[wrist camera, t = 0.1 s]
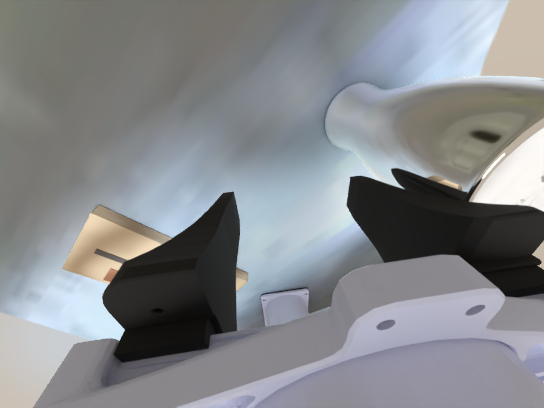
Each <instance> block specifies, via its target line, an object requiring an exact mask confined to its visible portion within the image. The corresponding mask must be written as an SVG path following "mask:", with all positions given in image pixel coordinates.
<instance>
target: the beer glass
mask: <svg viewBox="0 0 544 408" xmlns="http://www.w3.org/2000/svg"><path fill="white" fill-rule="evenodd" d="M325 131H326V134H327V136H328V138H329V140H330V141H331V143H332V144H333V145H335V146H336V147H338V148H341V149H344V150H348V151H351V152H353V153H354V154H355V155H356V156H357V157H358V158H359V159H360V161H361V162H362V163H363V165H364V166H365V167H366V169H367V170H368V171H369V172H370V174H371V175H372V176H373V177H374V178H375V179H376V180H378V181H381V182H384V183H387V184H390V185H393V186H396V187H399V188H403V189H406V190H410V191H413V192H417V193H421V194H426V195H430V196H435V197H440V198H446V199H453V200H459V201H468V202H477V203H488V204H505V205H526V206H531V207H535V208H537V209H539V210H542V211H544V78H537V77H524V76H523V77H522V76H466V77H452V78H445V79H438V80H432V81H426V82H421V83H417V84H412V85H407V86H403V87H399V88H394V89H389V90H382V89H380V88H378V87H376V86H374V85H372V84H368V83H356V84H353V85H350V86H348V87H346V88H345V89H343V90H342V91H341V92H339V93H338V94H337V95H336V97H335V98H334V99H333V100H332V102H331V104H330V106H329V108H328V110H327V113H326V117H325Z"/></svg>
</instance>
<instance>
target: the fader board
mask: <svg viewBox="0 0 544 408" xmlns="http://www.w3.org/2000/svg"><path fill="white" fill-rule="evenodd" d="M170 239H172V238H170V237H168V236H166V235H164V234H161V233H159V232H157V231H155V230H153V229H150V228H148V227H146V226H144V225H142V224H140V223H137V222H135V221H133V220H131V219H129V218H127V217H124V216H122V215H120V214H118V213H116V212H114V211H111V210H109V209H107V208H105V207H103V206H99V207H97V208H96V209H95V210H94V211H93V212H92V213H91V214H90V216H89V218H88V220H87V222H86V223H85V225H84V227H83V229H82V231H81V233H80V235H79V237H78V239H77V241H76V243H75V245H74V246H73V248H72V250H71V252H70V254H69V256H68V258H67V260H66V262H65V264H64V266H63V268H62V269H64V270H67V271H70V272H73V273H76V274H79V275H83V276H86V277H89V278H92V279H95V280H98V281H101V282H105V283H108V284H110V282H111V281H112V279H113V278H114V276H115V275H116V273H117V272H118V270H119V269H120V267H121V266H122V264H123V263H124V262H125V261H128V260H130V259H132V258H135V257H137V256H139V255H141V254H144V253H146V252H148V251H150V250H152V249H154V248H156V247H158V246H160V245H162V244H163V243H165V242H167V241H169V240H170ZM247 282H248V273H246V272H244V271H242V270H240V269H237V268H236V292H237V291H238V290H239V289H240V288H241V287H242V286H243V285H244V284H246V283H247Z"/></svg>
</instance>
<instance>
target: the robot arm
mask: <svg viewBox="0 0 544 408" xmlns="http://www.w3.org/2000/svg"><path fill="white" fill-rule="evenodd" d="M347 207H348V209H349V211H350V213H351V215H352V217H353V218H354V220H355V221H356V222H357V224H358V225H359V226H360V228H361V229H362V230H363V232H364V233H365V234H366V236H367V237H368V238H369V240H370V241H371V242H372V243H373V245H374V246H375V248H376V249H377V251H378V252H379V254H380V256H381V258H382V259H383V261H384V263H381V264H374V265H368V266H365V267H361V268H358V269H355V270H352V271H351V272H350V273H348V274H347V275H346V276H344V277H343V278H341V279H340V281H339V282H338V284H337V286H336V288H335V290H334V292H333V297H332V304H331V307H327V308H325V309H322V310H319V311H316V312H314V313H311V314H309V312H308V298H309V291H308V289H299V290H292V291H285V292H279V293H272V294H265V295H262V296H261V302H262V308H263V314H264V320H265V327H259V328H252V329H246V330H240V331H237V320H236V264H237V255H238V246H239V237H240V219H239V215H238V210H237V205H236V200H235V196H234V192H228V193H223V194H222V195H221V196H220V197H219V198H218V200H217V201H216V202H215V203H214V204H213V205H212V206H211V207H210V209H209V210H208V211H207V212H206V213H204V214H203V215H202V216H201V217H200V218H199V219H198V220H197V221H196V222H195V223H194V224H192V225H191V226H190V227H188V228H187V229H186V230H184V231H183V232H181V233H180V234H178V235H177V236H175V237H174V238H172V239H170V240H169V241H167V242H165V243H163V244H162V245H160V246H158V247H156V248H154V249H152V250H150V251H148V252H146V253H144V254H141V255H139V256H137V257H135V258H132V259H130V260H128V261H125V262H124V263H123V264H122V266H121V267H120V269H119V270H118V272H117V273H116V275H115V276H114V278H113V279H112V281H111V282H110V284H109V285H108V287H107V288H106V290H105V291H104V294H103V297H102V298H103V304H104V306H105V307H106V309H107V310H108V312H109V313H110V314H111V315H112V316H113V317H114V318H115V319H116V320H117V321H118V323H119V324H120V325H121V326H122V327H123V328H124V329H125V331H124V333H123V335H122V337H121V339H120V341H118V340H116V339H101V340H95V341H88V342H83V343H77V344H75V345H73V347H72V348H71V350H70V351H69V353H68V355H67V356H66V358H65V359H64V361H63V362H62V364H61V365H60V367H59V368H58V370H57V372H56V373H55V375H54V376H53V378H52V379H51V381H50V382H49V384H48V385H47V387H46V389H45V390H44V392H43V393H42V395H41V396H40V398H39V399H38V401H37V402H36V404H35V406H34V407H33V408H544V270H543V269H542V268H540V267H538V266H537V265H540V264H541V261H540V259H538V258H536V257H535V256H533V255H532V254H533V253H534V251H535V250H536V249H537V248H538V247H539V245H540V244H541V243H542V242H543V241H544V211H542V210H539V209H537V208H535V207H531V206H526V205H505V204H488V203H477V202H468V201H459V200H453V199H446V198H440V197H435V196H430V195H426V194H421V193H417V192H413V191H410V190H406V189H403V188H399V187H396V186H393V185H390V184H387V183H384V182H381V181H378V180H375V179H372V178H368V177H364V176H354V177H350V185H349V192H348V199H347Z"/></svg>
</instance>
